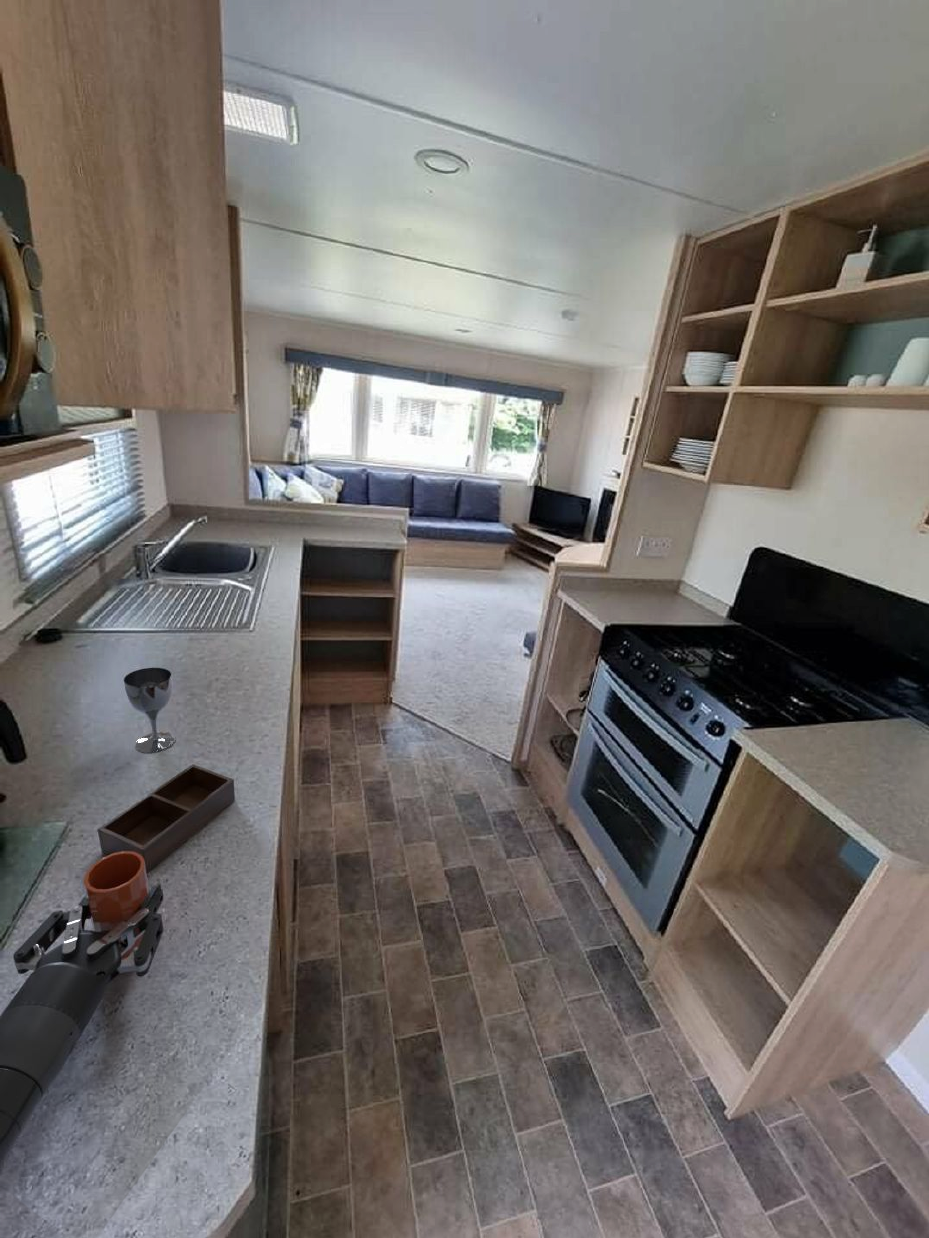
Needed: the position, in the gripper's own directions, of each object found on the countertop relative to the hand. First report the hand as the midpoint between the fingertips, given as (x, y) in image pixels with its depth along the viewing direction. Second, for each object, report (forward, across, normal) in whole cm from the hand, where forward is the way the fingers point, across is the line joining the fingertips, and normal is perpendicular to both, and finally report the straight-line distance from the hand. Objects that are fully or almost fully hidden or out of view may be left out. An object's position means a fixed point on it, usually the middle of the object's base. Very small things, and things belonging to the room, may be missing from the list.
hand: (130, 887), depth 66 cm
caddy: (+19, +4, +8) cm, 21 cm away
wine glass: (+41, +18, +8) cm, 45 cm away
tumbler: (-2, 0, +8) cm, 8 cm away
